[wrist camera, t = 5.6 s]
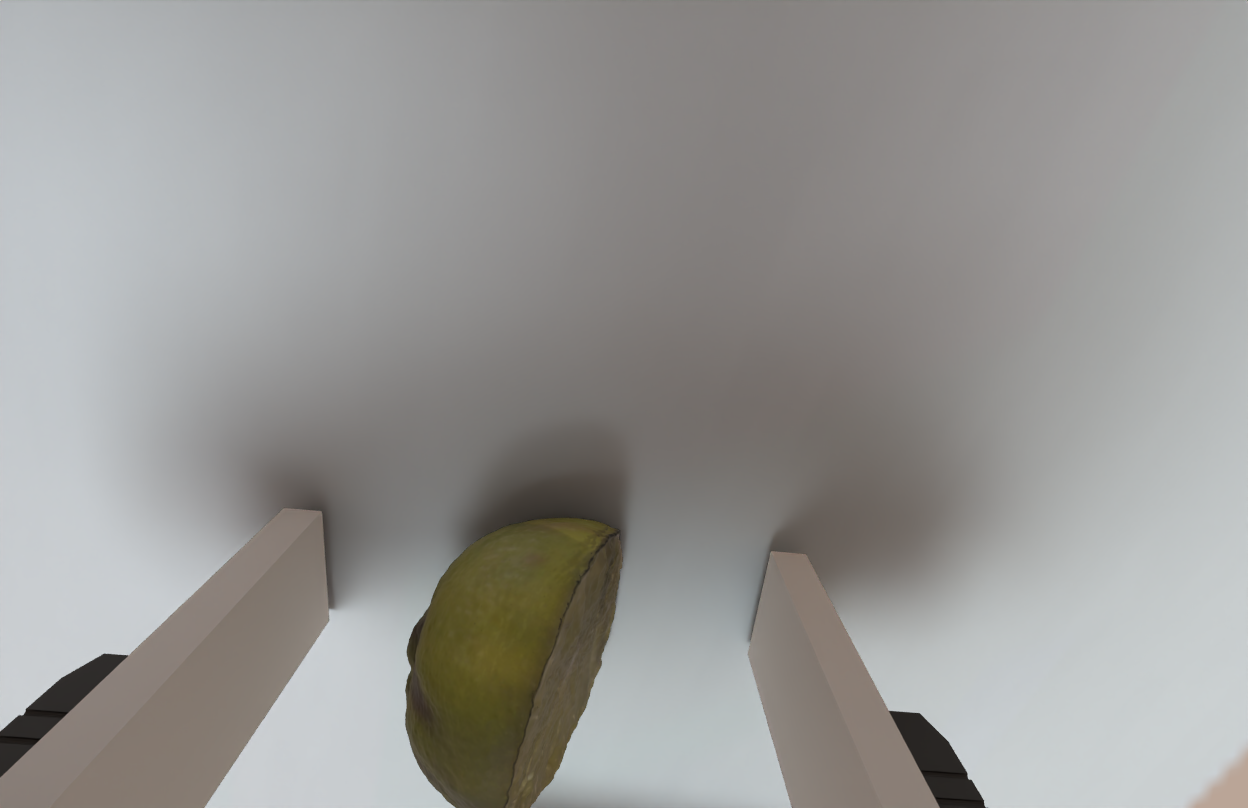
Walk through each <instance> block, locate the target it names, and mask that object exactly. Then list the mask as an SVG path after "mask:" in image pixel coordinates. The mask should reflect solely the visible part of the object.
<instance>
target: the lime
mask: <svg viewBox="0 0 1248 808" xmlns="http://www.w3.org/2000/svg"><path fill="white" fill-rule="evenodd" d="M619 535H620V530H618V529H616V528H611V527H610V526H608V525H606V524H604V523H601V522H598V521H594V520H586V519H579V518H547V519H536V520H529V521H526V522H522V523H517V524H512V525H508V526H505V527H502V528H500V529H499V530H497V531H495V532H492V533H490V534H488V535H486V536H484V537H483V538H481V539H479V540H477V541H476V542H474V543H473V544H472V545H470V546H469V547H468V548H467V549H466V550H465V551H464V552H463V553H462V554H461V555H460V556H459V557H458V558H457V559H456V560H455V561H454V562H453V563H452V564H451V565H450V566H449V568H448V570H447V571H446V572H445V574H444V575H443V576H442V577H441V578H440V580H439V583H438V585H437V587H436V589H435V591H434V594H433V597H432V600H431V604H430V606H429V608H428V609H427V610H426V612H425V613H424V615H423V617H422V618H421V619H420V620H419V622H418V623H417V624H416V625H415V627H414V628H413V631H412V634H411V637H410V639H409V643H408V647H407V657H408V661H409V664H410V665H411V672H410V673H409V676H408V679H407V684H406V690H405V691H406V700H407V709H406V714H405V716H406V719H405V726H406V730H407V734H408V736H409V740H410V745H411V748H412V751H413V753H414V756H415V758H416V760H417V763H418V765H419V767H420V769H421V770H422V772H423V773H424V775H425V776H426V777H427V779H428V781H429V782H430V783H431V784H432V785H433V786H434V787H435V789H436V790H438V791H439V792H440V793H441V794H442V795H443V797H444V798H445V799H446V800H447V801H448V802H449V803H451V804H452V805H453V806H455V807H456V808H530V807H531V805H532V804H533V803H534V802H535V801H536V799H537V797H538V796H539V795H540V793H541V791H543V789H544V788H545V787H546V786H547V785H549V783H550V782H551V781H552V779H553V778H554V774H555V772H556V771H557V770H558V769H559V767H560V764H561V762H562V759H563V756H564V753H565V750H566V748H567V743H568V742H569V740H570V738H571V734H572V733H573V731H574V729H575V728H576V727H577V724H578V721H579V718H580V717H581V715H582V714H583V712H584V710H585V708H586V705H587V701H588V699H589V696H590V691H591V688H592V687H593V684H594V679H595V677H596V675H597V673H598V671H599V669H600V667H601V665H602V660H601V656H602V653H603V651H604V646H605V644H606V642H607V640H608V637H609V633H610V628H611V624H612V622H613V619H614V614H615V608H616V605H615V600H616V596H617V590H618V583H619V579H620V569H621V568H622V562H623V557H622V549H621V546H620V544H621V541H620V539H618V537H619Z"/></svg>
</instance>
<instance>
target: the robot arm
mask: <svg viewBox="0 0 1248 808" xmlns="http://www.w3.org/2000/svg"><path fill="white" fill-rule="evenodd" d="M328 622H329V607H328V592H327V577H326V563H325V548H324V533H323V518H322V511H314V510H303V509H291V508H283V509H282V510H281V511H280V512H279V513H278V514H277V515H276V516H275V517H274V518H273V519H272V520H271V521H270V522H269V523H268V524H267V525H265V526H264V527H263V528H262V529H261V530H260V531H259V532H258V533H257V534H256V535H255V536H254V537H253V538H252V539H251V540H250V541H249V542H248V543H247V544H245V545H244V546H243V547H242V548H241V549H240V550H239V551H238V552H237V553H236V554H235V555H234V556H233V557H232V558H231V559H230V560H229V561H228V562H227V563H225V564H224V565H223V566H222V567H221V568H220V569H219V570H218V571H217V572H216V573H215V574H214V575H213V576H212V577H211V578H210V579H209V580H208V581H207V582H206V583H204V584H203V585H202V586H201V587H200V588H199V589H198V590H197V591H196V592H195V593H194V594H193V595H192V596H191V597H190V598H189V599H188V600H187V601H186V602H184V603H183V604H182V605H181V606H180V607H179V608H178V609H177V610H176V611H175V612H174V613H173V614H172V615H171V616H170V617H169V618H168V619H167V620H166V621H165V622H163V623H162V624H161V625H160V626H159V627H158V628H157V629H156V630H155V631H154V632H153V633H152V634H151V635H150V636H149V637H148V638H147V639H146V640H145V641H143V642H142V643H141V644H140V645H139V646H138V647H137V648H136V649H135V650H134V651H133V652H132V653H131V654H130V655H129V656H128V655H115V654H103V655H101V656H99V657H98V658H96V659H94V660H92V661H91V662H89V663H87V664H85V665H84V666H82V667H80V668H78V669H77V670H75V671H73V672H71V673H70V674H68V675H66V676H64V677H63V678H61V679H60V680H59V681H57V682H56V683H55V684H54V685H53V686H52V687H51V688H49V689H48V690H47V691H46V692H45V693H44V694H43V695H41V696H40V697H39V698H38V699H37V700H36V701H35V702H34V703H32V704H31V705H30V706H29V707H28V708H27V709H26V712H25V714H24V715H23V716H21V715H19V716H18V717H16V718H15V719H14V720H13V721H12V722H11V723H10V724H8V725H7V726H6V727H5V728H4V729H3V730H2V731H0V808H204V807H205V806H206V804H207V803H208V801H209V800H210V798H211V797H212V795H213V794H214V792H215V791H216V789H217V788H218V786H219V785H220V783H221V782H222V780H223V779H224V777H225V776H226V774H227V773H228V771H229V770H230V768H231V767H232V765H233V764H234V762H235V761H236V759H237V758H238V756H239V755H240V753H241V752H242V750H243V749H244V747H245V746H246V744H247V743H248V741H249V740H250V738H251V737H252V735H253V734H254V732H255V731H256V729H257V728H258V726H259V725H260V723H261V722H262V720H263V719H264V718H265V716H266V715H267V713H268V712H269V710H270V709H271V707H272V706H273V704H274V703H275V701H276V700H277V698H278V697H279V695H280V694H281V692H282V691H283V689H284V688H285V686H286V685H287V683H288V682H289V680H290V679H291V677H292V676H293V674H294V673H295V671H296V670H297V668H298V667H299V665H300V664H301V662H302V661H303V659H304V658H305V656H306V655H307V653H308V652H309V650H310V649H311V647H312V646H313V644H314V643H315V641H316V640H317V638H318V637H319V635H320V634H321V632H322V631H323V629H324V628H325V626H326V625H327V623H328ZM748 656H749V660H750V663H751V667H752V670H753V674H754V677H755V681H756V684H757V688H758V691H759V695H760V698H761V702H762V705H763V709H764V712H765V716H766V719H767V723H768V726H769V730H770V733H771V737H772V740H773V743H774V747H775V750H776V754H777V757H778V761H779V764H780V768H781V771H782V775H783V778H784V782H785V785H786V789H787V792H788V796H789V799H790V803H791V806H792V808H986V807H985V806H984V800H983V798H982V797H981V795H980V793H979V792H978V790H977V788H976V787H975V785H974V783H973V782H972V780H969V779H968V777H967V772H966V770H965V769H964V767H963V765H962V764H961V762H960V760H959V759H958V757H957V755H956V754H955V752H954V750H953V749H952V747H951V745H950V744H949V742H948V741H947V740H946V739H945V738H944V737H943V736H942V735H941V734H940V733H939V732H938V731H937V730H936V729H935V728H934V727H933V726H932V725H931V724H930V723H929V722H928V721H927V720H926V719H925V718H924V717H923V716H922V715H921V714H920V713H909V712H896V711H888V709H887V707H886V705H885V703H884V701H883V699H882V697H881V695H880V694H879V692H878V690H877V688H876V686H875V684H874V682H873V680H872V678H871V676H870V675H869V673H868V671H867V669H866V667H865V665H864V663H863V661H862V659H861V657H860V656H859V654H858V652H857V650H856V648H855V646H854V644H853V642H852V640H851V639H850V637H849V635H848V633H847V631H846V629H845V627H844V625H843V623H842V621H841V620H840V618H839V616H838V614H837V612H836V610H835V608H834V606H833V604H832V603H831V601H830V599H829V597H828V595H827V593H826V591H825V589H824V587H823V585H822V584H821V582H820V580H819V578H818V576H817V574H816V572H815V570H814V568H813V566H812V565H811V563H810V561H809V559H808V557H807V555H806V554H799V553H788V552H776V551H771V553H770V557H769V562H768V566H767V571H766V575H765V580H764V584H763V588H762V593H761V597H760V602H759V606H758V611H757V615H756V619H755V624H754V628H753V633H752V637H751V642H750V646H749V650H748Z"/></svg>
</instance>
